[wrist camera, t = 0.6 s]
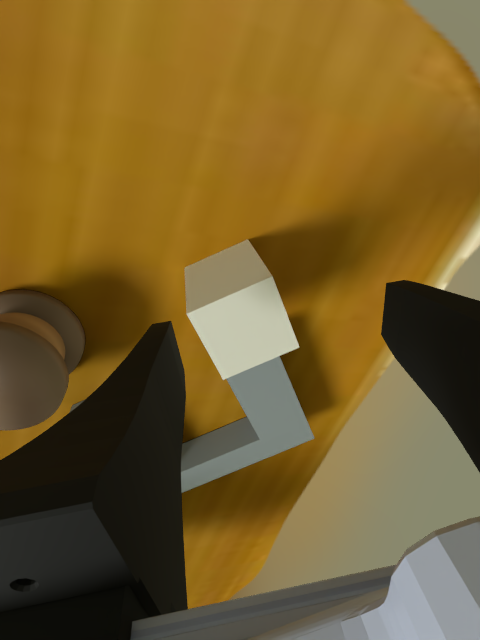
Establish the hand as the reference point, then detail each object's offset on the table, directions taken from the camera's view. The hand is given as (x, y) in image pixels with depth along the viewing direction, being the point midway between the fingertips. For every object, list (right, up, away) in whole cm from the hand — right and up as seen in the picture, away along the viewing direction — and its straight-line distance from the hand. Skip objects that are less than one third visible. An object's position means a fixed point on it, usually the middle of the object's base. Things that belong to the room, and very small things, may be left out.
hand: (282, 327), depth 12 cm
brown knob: (-14, -1, +9) cm, 16 cm away
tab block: (-2, +3, +9) cm, 10 cm away
